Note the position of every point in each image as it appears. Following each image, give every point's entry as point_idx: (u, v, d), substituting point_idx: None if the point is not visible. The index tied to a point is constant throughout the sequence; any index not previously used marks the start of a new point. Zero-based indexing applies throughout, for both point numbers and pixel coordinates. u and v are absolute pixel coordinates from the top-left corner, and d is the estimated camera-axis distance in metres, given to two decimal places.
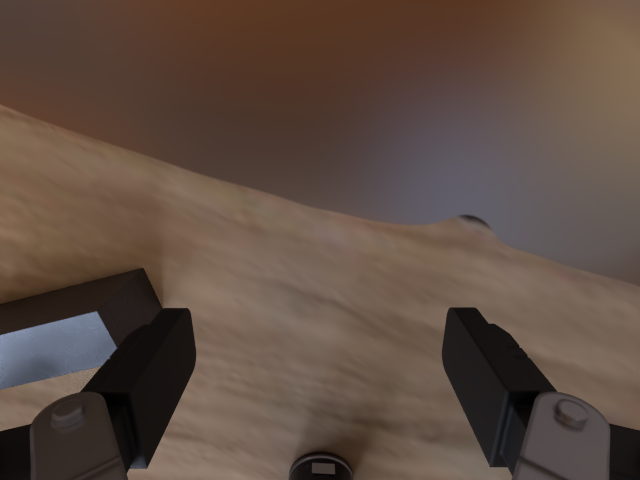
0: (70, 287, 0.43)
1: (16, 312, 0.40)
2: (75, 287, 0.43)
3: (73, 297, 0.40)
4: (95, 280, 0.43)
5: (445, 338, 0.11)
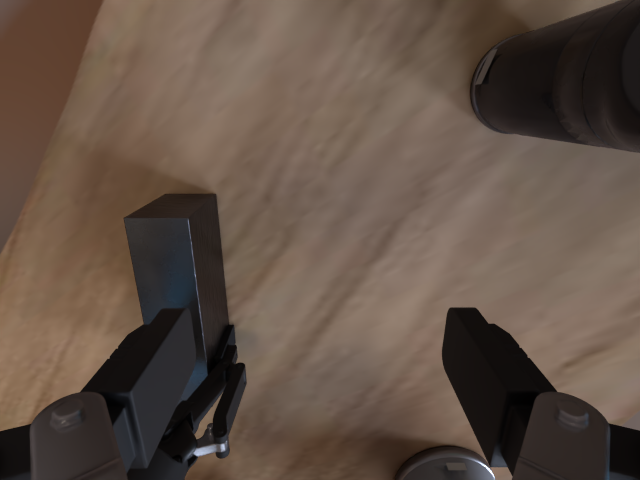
0: None
1: None
2: None
3: None
4: None
5: (445, 338, 0.11)
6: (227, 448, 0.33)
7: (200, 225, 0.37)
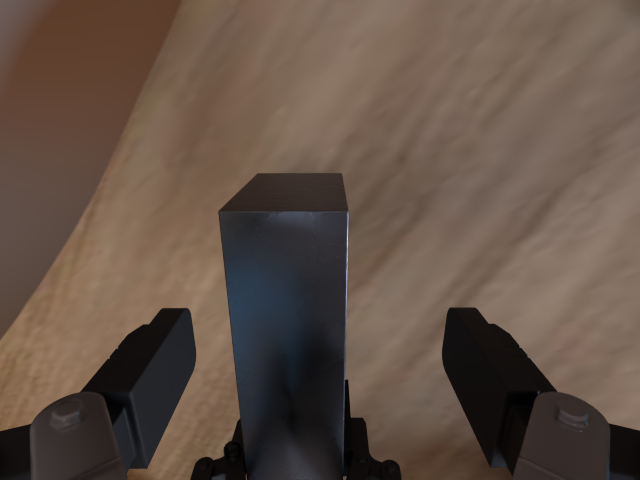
0: None
1: None
2: None
3: None
4: None
5: (445, 338, 0.11)
6: None
7: None
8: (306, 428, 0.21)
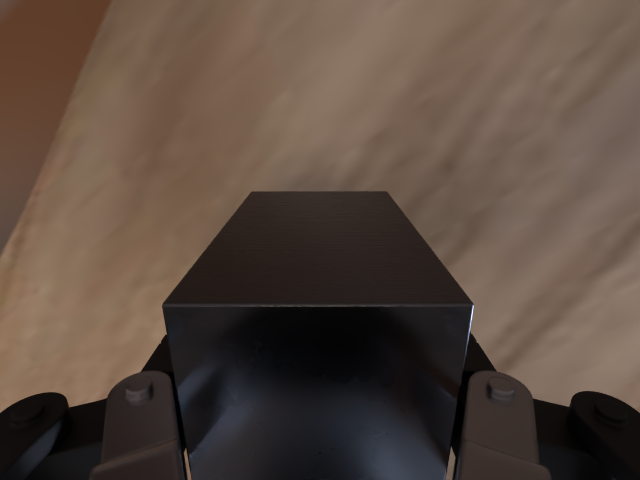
0: None
1: None
2: None
3: None
4: None
5: None
6: None
7: None
8: None
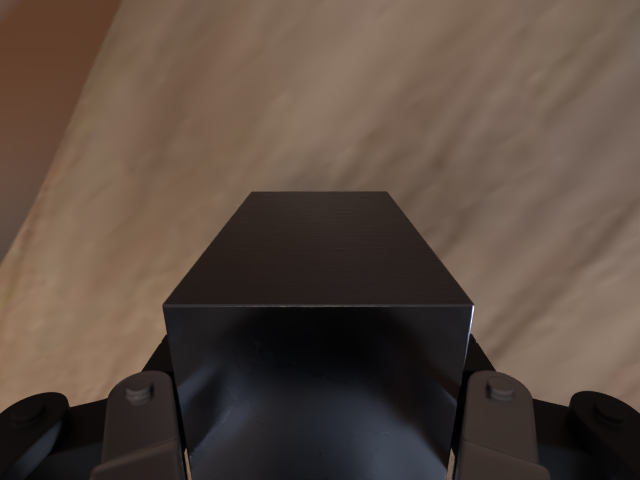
0: None
1: None
2: None
3: None
4: None
5: None
6: None
7: None
8: None
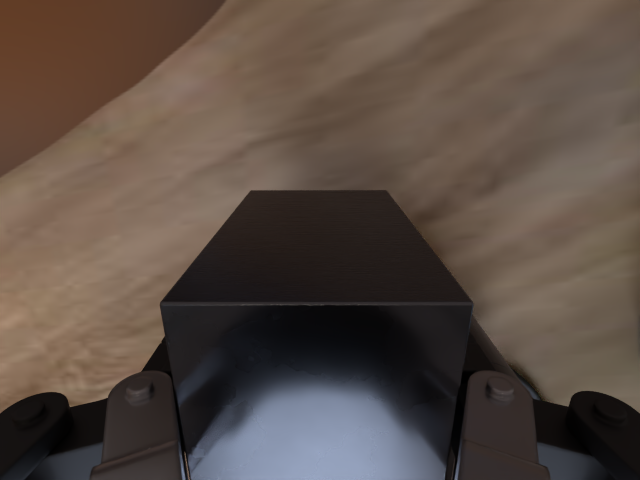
0: None
1: None
2: None
3: None
4: None
5: None
6: None
7: None
8: None
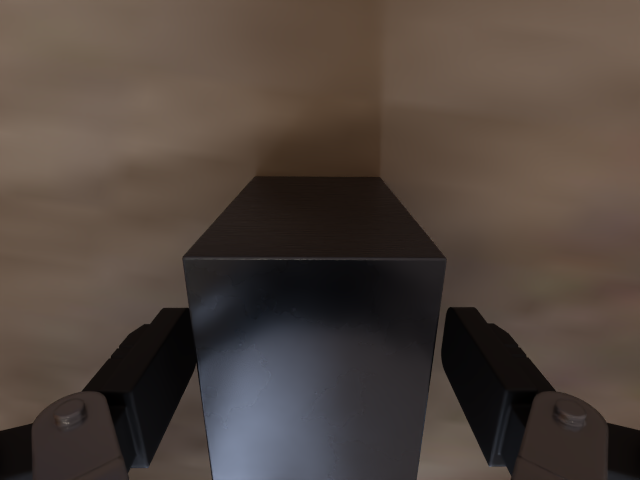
0: None
1: None
2: None
3: None
4: None
5: (444, 338, 0.11)
6: None
7: None
8: None
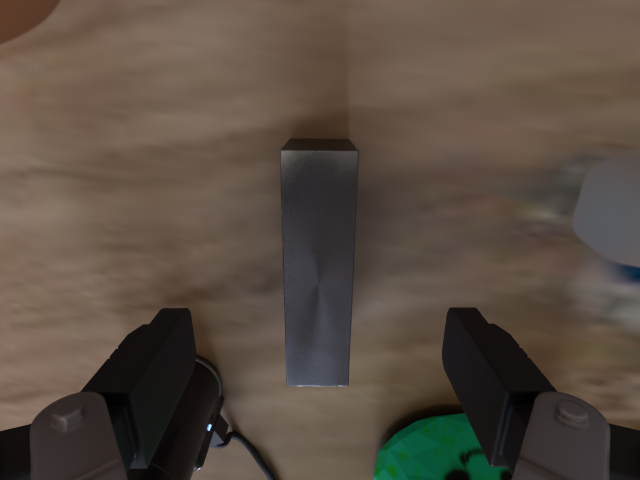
0: None
1: None
2: None
3: None
4: None
5: (445, 338, 0.11)
6: None
7: None
8: (327, 301, 0.32)
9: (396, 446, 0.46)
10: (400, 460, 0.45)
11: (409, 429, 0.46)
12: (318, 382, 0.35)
